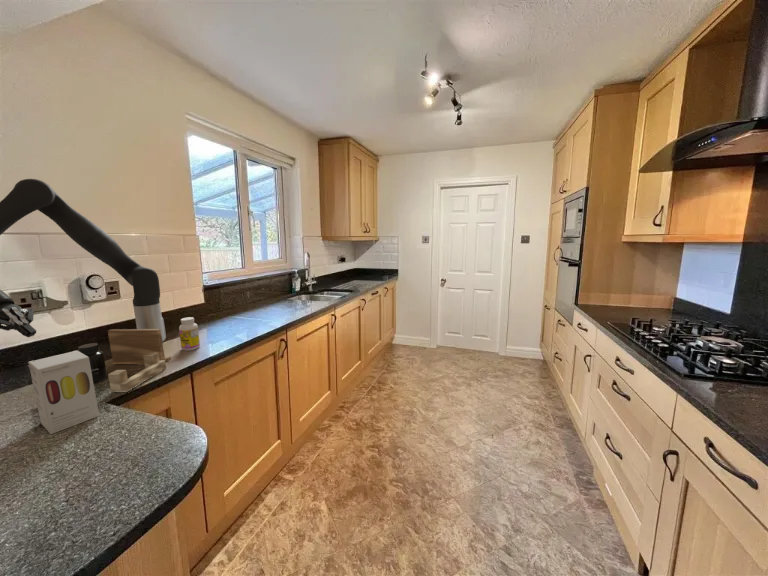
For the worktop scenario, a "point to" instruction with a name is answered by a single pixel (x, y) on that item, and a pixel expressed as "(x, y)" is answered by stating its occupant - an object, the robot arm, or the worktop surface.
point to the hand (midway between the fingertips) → (32, 334)
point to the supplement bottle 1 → (95, 361)
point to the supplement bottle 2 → (189, 334)
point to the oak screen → (135, 345)
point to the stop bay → (124, 384)
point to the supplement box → (64, 390)
